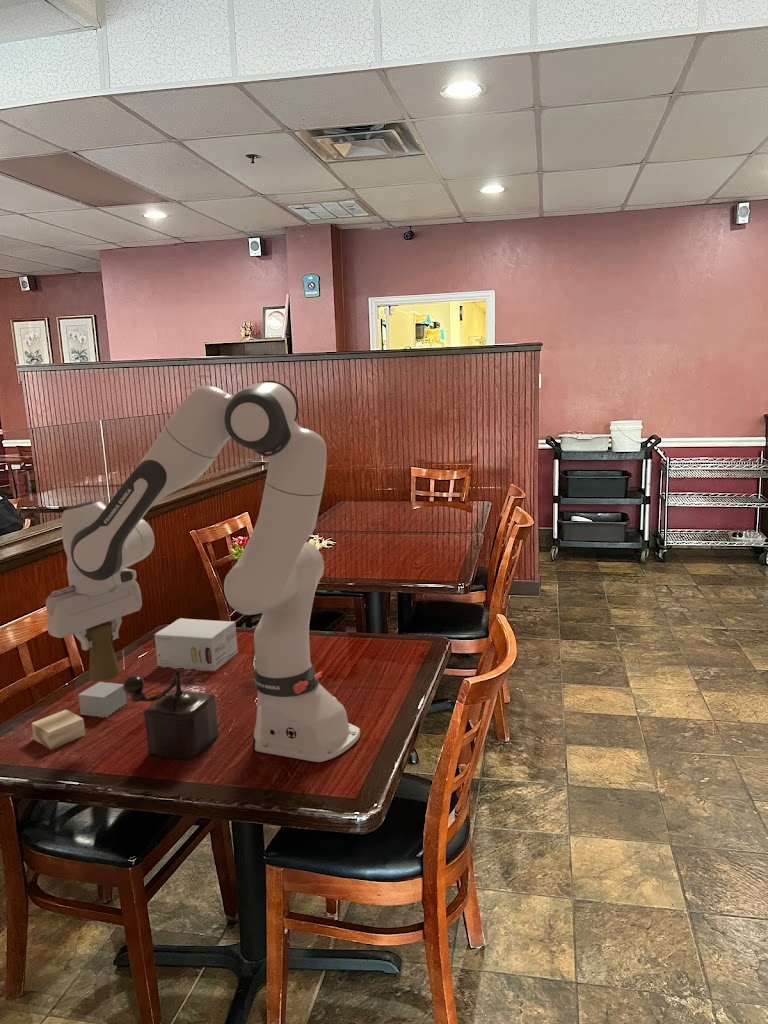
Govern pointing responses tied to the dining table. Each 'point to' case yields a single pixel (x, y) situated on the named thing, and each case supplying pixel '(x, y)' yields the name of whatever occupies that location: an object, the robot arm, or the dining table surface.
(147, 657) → the dining table surface
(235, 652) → the supplement box
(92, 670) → the cork
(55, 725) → the maple block
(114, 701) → the grey block
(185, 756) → the pepper mill
